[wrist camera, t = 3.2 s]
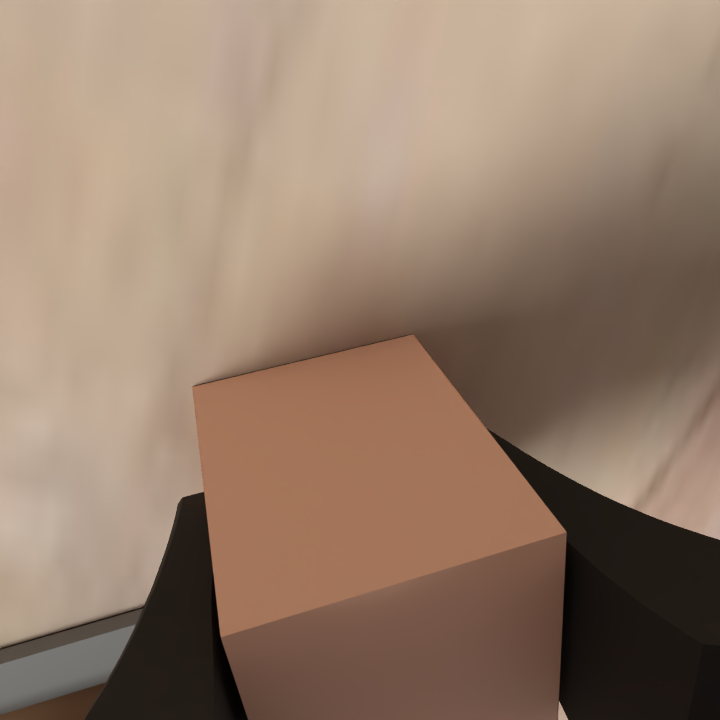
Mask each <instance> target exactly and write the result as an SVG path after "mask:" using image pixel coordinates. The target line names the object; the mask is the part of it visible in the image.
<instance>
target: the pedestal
mask: <svg viewBox="0 0 720 720" xmlns="http://www.w3.org/2000/svg"><path fill="white" fill-rule="evenodd" d="M104 685H105V683H103V684H99V685H96V686H93V687H90V688H86V689H83V690H80V691H77V692H73V693H70V694H67V695H64V696H60V697H57V698H54V699H50V700H47V701H44V702H41V703H37V704H34V705H31V706H28V707H24V708H21V709H18V710H15V711H11V712H8V713H5V714H1V715H0V720H83V719H84V717H85V716H86V714H87V713H88V711H89V709H90V708H91V706H92V704H93V703H94V701H95V700H96V698H97V696H98V695H99V693H100V691H101V690H102V688H103V686H104Z"/></svg>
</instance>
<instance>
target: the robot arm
mask: <svg viewBox="0 0 720 720" xmlns="http://www.w3.org/2000/svg"><path fill="white" fill-rule="evenodd" d="M486 429H487V428H486ZM487 430H488V429H487ZM488 431H489V433H490V434H491V435H492V437H493V438H494V439H495V440H496V442H497V443H498V444H499V446H500V447H501V448H502V449H503V451H504V452H505V453H506V455H507V456H508V457H509V458H510V460H511V461H512V462H513V464H514V465H515V466H516V468H517V469H518V470H519V471H520V473H521V474H522V475H523V477H524V478H525V479H526V480H527V482H528V483H529V484H530V486H531V487H532V488H533V489H534V491H535V492H536V493H537V495H538V496H539V497H540V498H541V500H542V501H543V502H544V504H545V505H546V506H547V507H548V509H549V510H550V511H551V513H552V514H553V515H554V516H555V518H556V519H557V520H558V522H559V523H560V524H561V525H562V527H563V528H564V529H565V531H566V532H567V536H566V557H565V579H564V600H563V621H562V642H561V664H560V685H559V701H560V703H561V705H562V707H563V709H564V712H565V714H566V716H567V718H568V720H720V540H718V539H715V538H711V537H708V536H705V535H702V534H699V533H696V532H693V531H690V530H687V529H684V528H681V527H678V526H675V525H672V524H670V523H667V522H664V521H662V520H659V519H656V518H654V517H651V516H649V515H646V514H644V513H642V512H639V511H637V510H634V509H632V508H630V507H627V506H625V505H623V504H620V503H618V502H616V501H614V500H611V499H609V498H607V497H605V496H603V495H601V494H599V493H597V492H595V491H593V490H591V489H589V488H587V487H585V486H583V485H581V484H579V483H577V482H575V481H573V480H571V479H570V478H568V477H566V476H564V475H562V474H560V473H559V472H557V471H555V470H553V469H552V468H550V467H548V466H546V465H545V464H543V463H541V462H540V461H538V460H536V459H535V458H533V457H531V456H530V455H528V454H526V453H525V452H523V451H521V450H520V449H518V448H517V447H515V446H513V445H512V444H510V443H509V442H507V441H505V440H504V439H502V438H501V437H499V436H498V435H496V434H495V433H493V432H491V431H490V430H488ZM83 720H248V718H247V715H246V712H245V709H244V706H243V703H242V700H241V697H240V694H239V691H238V688H237V685H236V682H235V679H234V676H233V673H232V670H231V667H230V664H229V661H228V658H227V655H226V652H225V649H224V646H223V643H222V640H221V636H220V627H219V618H218V610H217V601H216V592H215V583H214V574H213V565H212V556H211V547H210V539H209V530H208V521H207V512H206V503H205V494H204V492H202V493H198V494H194V495H190V496H187V497H183V498H182V499H181V500H180V502H179V503H178V506H177V511H176V516H175V520H174V524H173V527H172V531H171V534H170V538H169V541H168V544H167V547H166V550H165V553H164V556H163V559H162V562H161V565H160V567H159V570H158V573H157V575H156V578H155V581H154V584H153V586H152V589H151V591H150V594H149V596H148V598H147V600H146V603H145V605H144V607H143V610H142V612H141V614H140V616H139V619H138V621H137V623H136V625H135V628H134V630H133V632H132V634H131V636H130V638H129V640H128V642H127V644H126V646H125V648H124V650H123V652H122V654H121V656H120V658H119V660H118V661H117V663H116V665H115V667H114V669H113V671H112V672H111V674H110V676H109V678H108V680H107V681H106V683H105V685H104V686H103V688H102V690H101V691H100V693H99V695H98V696H97V698H96V700H95V701H94V703H93V704H92V706H91V708H90V709H89V711H88V713H87V714H86V716H85V717H84V719H83Z"/></svg>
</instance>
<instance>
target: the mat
mask: <svg viewBox="0 0 720 720" xmlns="http://www.w3.org/2000/svg"><path fill="white" fill-rule="evenodd" d="M142 610H143V609H139V610H136V611H132V612H129V613H125V614H122V615H118V616H115V617H112V618H108V619H105V620H101V621H98V622H94V623H91V624H87V625H84V626H81V627H77V628H74V629H70V630H67V631H63V632H60V633H56V634H53V635H50V636H46V637H43V638H39V639H36V640H32V641H29V642H25V643H22V644H19V645H15V646H12V647H8V648H5V649H1V650H0V715H1V714H5V713H8V712H11V711H15V710H18V709H21V708H24V707H28V706H31V705H34V704H37V703H41V702H44V701H47V700H50V699H54V698H57V697H60V696H64V695H67V694H70V693H73V692H77V691H80V690H83V689H86V688H90V687H93V686H96V685H99V684H103V683H106V681H107V680H108V678H109V676H110V674H111V672H112V671H113V669H114V667H115V665H116V663H117V661H118V660H119V658H120V656H121V654H122V652H123V650H124V648H125V646H126V644H127V642H128V640H129V638H130V636H131V634H132V632H133V630H134V628H135V625H136V623H137V621H138V619H139V616H140V614H141V612H142Z"/></svg>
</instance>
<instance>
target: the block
mask: <svg viewBox="0 0 720 720" xmlns="http://www.w3.org/2000/svg"><path fill="white" fill-rule="evenodd" d="M192 388H193V397H194V405H195V414H196V423H197V432H198V441H199V450H200V459H201V468H202V476H203V485H204V494H205V503H206V512H207V521H208V530H209V539H210V547H211V556H212V565H213V574H214V583H215V592H216V601H217V610H218V618H219V627H220V636H221V640H222V643H223V646H224V649H225V652H226V655H227V658H228V661H229V664H230V667H231V670H232V673H233V676H234V679H235V682H236V685H237V688H238V691H239V694H240V697H241V700H242V703H243V706H244V709H245V712H246V715H247V718H248V720H558V706H559V685H560V664H561V642H562V621H563V600H564V579H565V557H566V536H567V532H566V531H565V529H564V528H563V527H562V525H561V524H560V523H559V522H558V520H557V519H556V518H555V516H554V515H553V514H552V513H551V511H550V510H549V509H548V507H547V506H546V505H545V504H544V502H543V501H542V500H541V498H540V497H539V496H538V495H537V493H536V492H535V491H534V489H533V488H532V487H531V486H530V484H529V483H528V482H527V480H526V479H525V478H524V477H523V475H522V474H521V473H520V471H519V470H518V469H517V468H516V466H515V465H514V464H513V462H512V461H511V460H510V458H509V457H508V456H507V455H506V453H505V452H504V451H503V449H502V448H501V447H500V446H499V444H498V443H497V442H496V440H495V439H494V438H493V437H492V435H491V434H490V433H489V431H488V430H487V429H486V428H485V426H484V425H483V424H482V422H481V421H480V420H479V419H478V417H477V416H476V415H475V413H474V412H473V411H472V410H471V408H470V407H469V406H468V404H467V403H466V402H465V401H464V399H463V398H462V397H461V395H460V394H459V393H458V392H457V390H456V389H455V388H454V386H453V385H452V384H451V383H450V381H449V380H448V379H447V377H446V376H445V375H444V373H443V372H442V371H441V370H440V368H439V367H438V366H437V364H436V363H435V362H434V361H433V359H432V358H431V357H430V355H429V354H428V353H427V352H426V350H425V349H424V348H423V346H422V345H421V344H420V343H419V341H418V340H417V339H416V337H415V336H414V335H409V336H404V337H400V338H396V339H392V340H388V341H383V342H379V343H375V344H371V345H367V346H362V347H358V348H354V349H350V350H346V351H341V352H337V353H333V354H329V355H324V356H320V357H316V358H312V359H308V360H303V361H299V362H295V363H291V364H287V365H282V366H278V367H274V368H270V369H266V370H261V371H257V372H253V373H249V374H245V375H240V376H236V377H232V378H228V379H224V380H219V381H215V382H211V383H207V384H203V385H198V386H194V387H192Z"/></svg>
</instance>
